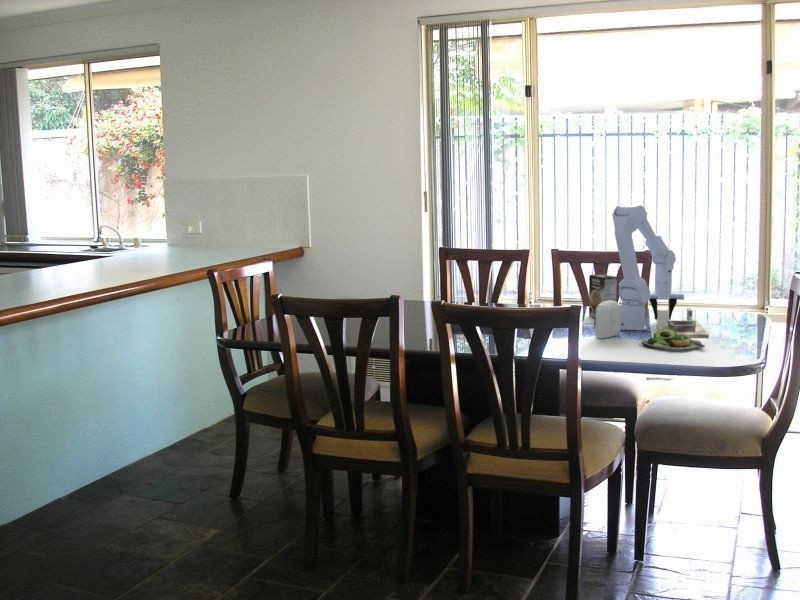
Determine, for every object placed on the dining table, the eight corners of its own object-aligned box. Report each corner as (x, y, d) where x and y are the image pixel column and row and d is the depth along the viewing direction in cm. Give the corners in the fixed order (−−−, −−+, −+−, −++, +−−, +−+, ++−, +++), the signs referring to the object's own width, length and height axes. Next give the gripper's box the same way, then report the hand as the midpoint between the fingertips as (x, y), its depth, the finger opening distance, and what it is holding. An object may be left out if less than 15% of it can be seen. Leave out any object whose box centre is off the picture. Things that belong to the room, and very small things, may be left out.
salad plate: (719, 347, 277) (719, 333, 276) (685, 356, 267) (686, 341, 266) (667, 339, 292) (668, 325, 292) (634, 346, 282) (634, 332, 281)
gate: (692, 326, 305) (692, 315, 304) (686, 319, 318) (687, 308, 318) (696, 326, 305) (696, 315, 304) (690, 319, 318) (690, 308, 318)
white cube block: (657, 324, 317) (657, 310, 316) (656, 322, 321) (656, 308, 320) (668, 324, 316) (669, 310, 316) (667, 322, 320) (667, 308, 320)
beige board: (662, 337, 294) (662, 328, 294) (652, 320, 323) (653, 312, 323) (708, 337, 291) (708, 328, 291) (695, 321, 320) (695, 313, 320)
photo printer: (610, 333, 302) (610, 298, 300) (621, 335, 299) (621, 299, 297) (593, 338, 295) (593, 302, 293) (604, 339, 292) (604, 303, 290)
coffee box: (588, 316, 336) (588, 274, 334) (601, 314, 339) (602, 273, 336) (603, 319, 328) (603, 277, 325) (616, 318, 330) (617, 276, 328)
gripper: (682, 280, 319) (681, 317, 321) (641, 280, 322) (641, 317, 324) (685, 283, 312) (684, 320, 314) (643, 283, 315) (642, 320, 317)
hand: (662, 319), depth 319 cm, fingers open, 4 cm apart
